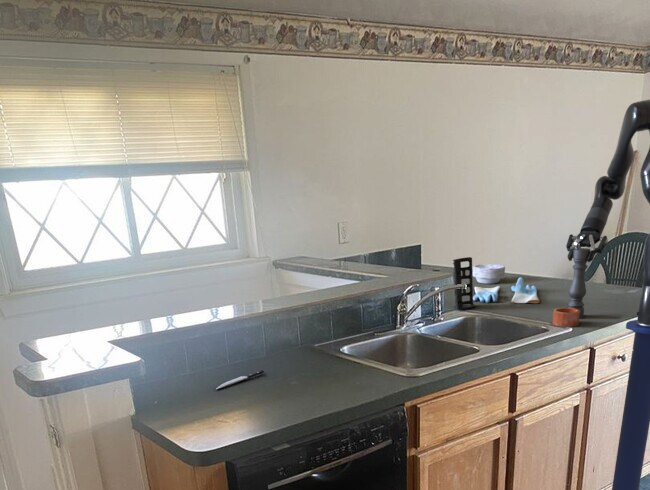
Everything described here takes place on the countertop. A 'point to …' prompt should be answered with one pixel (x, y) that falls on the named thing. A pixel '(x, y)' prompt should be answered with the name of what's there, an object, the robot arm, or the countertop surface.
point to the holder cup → (566, 317)
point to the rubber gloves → (520, 291)
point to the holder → (458, 281)
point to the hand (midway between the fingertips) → (579, 260)
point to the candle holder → (578, 279)
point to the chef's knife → (239, 379)
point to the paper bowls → (488, 273)
